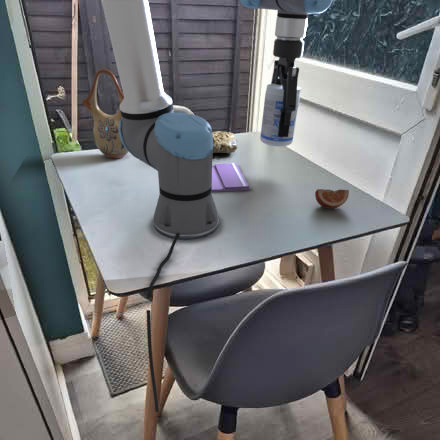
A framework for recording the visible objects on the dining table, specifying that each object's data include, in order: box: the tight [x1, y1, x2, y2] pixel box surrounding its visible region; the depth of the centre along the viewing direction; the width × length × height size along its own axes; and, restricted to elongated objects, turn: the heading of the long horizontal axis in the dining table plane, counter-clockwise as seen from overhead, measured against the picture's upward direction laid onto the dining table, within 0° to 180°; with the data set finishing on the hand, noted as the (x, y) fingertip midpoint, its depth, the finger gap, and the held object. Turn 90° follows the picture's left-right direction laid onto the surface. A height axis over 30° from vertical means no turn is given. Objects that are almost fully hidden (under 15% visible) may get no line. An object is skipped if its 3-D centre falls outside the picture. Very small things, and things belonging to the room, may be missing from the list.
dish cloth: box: [212, 162, 250, 193], centre depth 114 cm, size 18×13×1 cm
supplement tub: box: [259, 83, 302, 148], centre depth 109 cm, size 10×10×15 cm
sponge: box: [212, 130, 238, 154], centre depth 128 cm, size 13×8×20 cm
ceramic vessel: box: [80, 68, 130, 159], centre depth 118 cm, size 16×9×25 cm, turn 90°
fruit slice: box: [314, 188, 350, 209], centre depth 100 cm, size 8×7×5 cm
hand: (277, 131), depth 112 cm, fingers closed on supplement tub, 10 cm apart
